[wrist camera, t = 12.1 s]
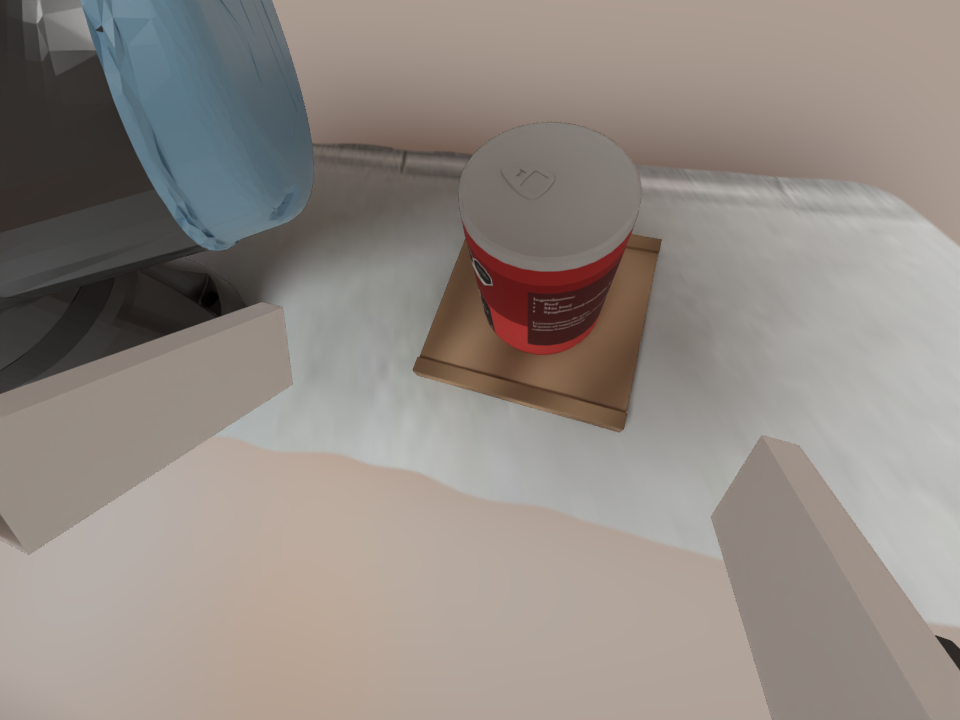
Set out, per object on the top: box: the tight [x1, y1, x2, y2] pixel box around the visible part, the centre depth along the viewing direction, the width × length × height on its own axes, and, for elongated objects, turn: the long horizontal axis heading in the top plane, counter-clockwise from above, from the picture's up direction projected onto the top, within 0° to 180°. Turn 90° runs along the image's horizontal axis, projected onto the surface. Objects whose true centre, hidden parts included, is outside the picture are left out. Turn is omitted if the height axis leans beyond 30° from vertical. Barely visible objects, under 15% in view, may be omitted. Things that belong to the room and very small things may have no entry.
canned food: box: [458, 122, 642, 355], centre depth 21 cm, size 8×8×11 cm
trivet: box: [413, 234, 662, 432], centre depth 26 cm, size 14×14×1 cm
